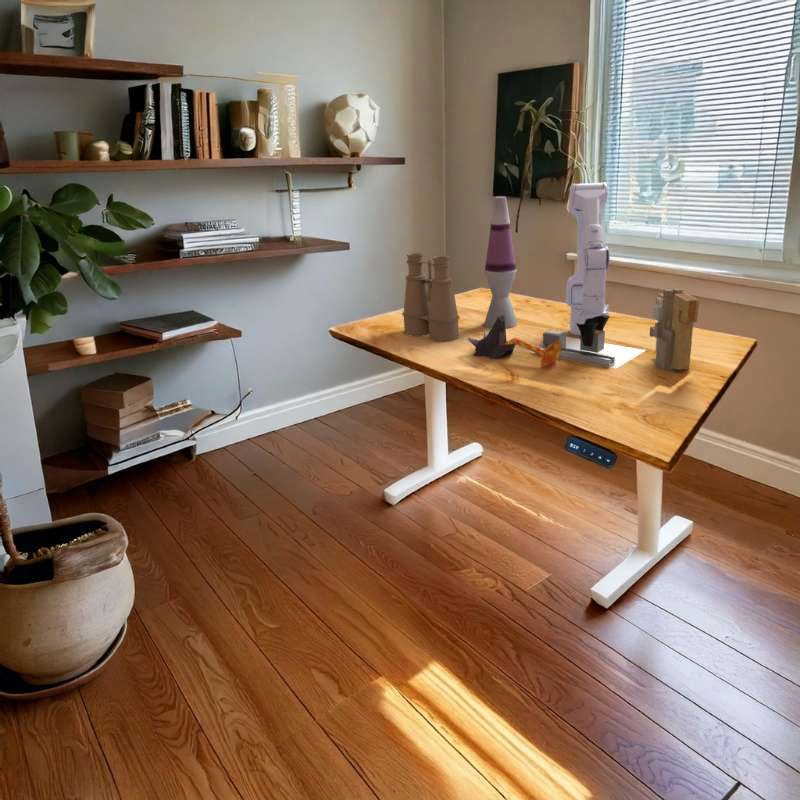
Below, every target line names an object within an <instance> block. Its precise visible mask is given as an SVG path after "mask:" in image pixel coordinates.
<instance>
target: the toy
mask: <svg viewBox="0 0 800 800" xmlns="http://www.w3.org/2000/svg"><path fill="white" fill-rule="evenodd" d="M683 291H684V290H683V289H682V288H672V289H671V288H666V289H663V291H662V292H663V293H658V295H657V297H656V296H655V305H653V311H652V312H653V313H652V318H653V319H655V320H657V322H656V323H654V326H650V327H649V337H652V338H653V337H654V338H656V339H655V350H654V352H655V353H656V354H655V358H650V360H651V361H652V362H653V363H654V364H656V365H657V366H658V367H659V368H661V369H662V370H663V371H664V370H665V371H666V370H667V371H668V370H688V369H690V363H691V362H690V361H691V353H692V343H693V341H692V340H693V331H694V330H693V329H694V323H698V315H699V307H700V300H699V299H698V298H696V297H694V296H693V295H690V294H689V293H687V292H686V293H684V292H683Z"/></svg>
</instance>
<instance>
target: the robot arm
mask: <svg viewBox="0 0 800 800" xmlns="http://www.w3.org/2000/svg"><path fill="white" fill-rule="evenodd" d="M608 190H609V189H608V184H607V183H606V182H604V181H603V182H591V183H571V185H570V187H569V207H568V208H569V212H570V214H572V215H573V216H575V218H576V222H577V236H576V239H577V242H576V273H574V274H573V275H572V276H570V277H569V278H568V279H567V281H566V287H565V303H566V305H567V306H570V314H569V315H570V317H569V319H570V321H569V333H570V334H572V335H574V336H575V335H576V336H580V338H581V337H582V342H583V345H584V346H589V347H590V346H591V345H592V342H593V336H594V332H595V330H602V331H604V328H605V327H606V324H607V322H608V321H609V319H610V315H609V311H610V308H609V307H610V305H609V304H606V303H605V301H606V283H607V271H609V268H610V267H609V266H610V263H611V262H610V260H611V259H610V256H611V255H610V249H609V247H608V244H606V237H605V236H606V235H605V229H604V227H603V226H601V225H600V214H601V213H602V212H603V211H604V209H605V207H606V205H607V202H608V192H609V191H608Z"/></svg>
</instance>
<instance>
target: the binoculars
mask: <svg viewBox="0 0 800 800" xmlns="http://www.w3.org/2000/svg"><path fill="white" fill-rule="evenodd" d="M423 256H424V252H408V253H406V257H407V260H406V264H407V265H408V275H406V276H405V281H406V282H405V290H404V291H405V294H404V305H403V312H401V313H402V315H401V316H402V317H403V325H404V334H405V335H406V334H407V335H406V336H409V335H411V336H410V337H424V336H423V335H425V336H428V339H429V340H430V341H432V340H433V342H436V341H438V342H437V343H447V341H448V342H452V341H456V340H458V339H460V338H459V337H460V334H459V320H460V316H459V314H458V309H457V304H456V302H457V301H456V296H455V295H456V294H455V291H454V285H453V283H454V280H453V278H452V277H450V266H451V265H452V264H451V263H452V262H450V258H451V255H447V254H445V255H444V254H439V255H434V256H432V260H431V259H428V260H425V259H423V258H424V257H423ZM423 264H427V267H428V269H427V271H428V276H427V275H426V274H425V273H424V265H423ZM432 267H433V270H434V271H433V272H434V273H433V274H434V275H433V276H434V277H433V276H432ZM428 334H429V335H428Z"/></svg>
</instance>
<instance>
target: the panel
mask: <svg viewBox="0 0 800 800" xmlns="http://www.w3.org/2000/svg"><path fill="white" fill-rule="evenodd" d="M580 341H581V338H575V337H569V336H566V348H569V349H575V350H580ZM580 351H584V350H580ZM646 351H647V349H641V348H635V347H630V346H629V347H628V346H623V345H618V344H611V343H606V342H604V349H603V350H601V351H599V352H598V353H597V354H603V355H608V356H614V357H615V364H614V365H612V366H610V367H609V368H611V369H616V370H617V369H619V368H621V367H622V366H623V365H625V364H627V363H628V362H630V361H631V360H633V359H635V358H637V357H638V356H641V354H643V353H644V352H646ZM586 352H590V351H586ZM529 353H532V354H536V355H537V353H535V352H532V351H530V350H529ZM591 353H596V352H591ZM561 359H563V358H561ZM567 360H569V359H567ZM569 361H570V360H569ZM572 361H574V360H572ZM574 362H575V361H574ZM577 362H578V363H580V362H579V361H577ZM582 363H584V362H582ZM588 364H589V365H591V364H590V363H588ZM593 365H595V364H593ZM595 366H596V365H595ZM598 366H599V367H601V366H600V365H598ZM603 367H605V366H603Z"/></svg>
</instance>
